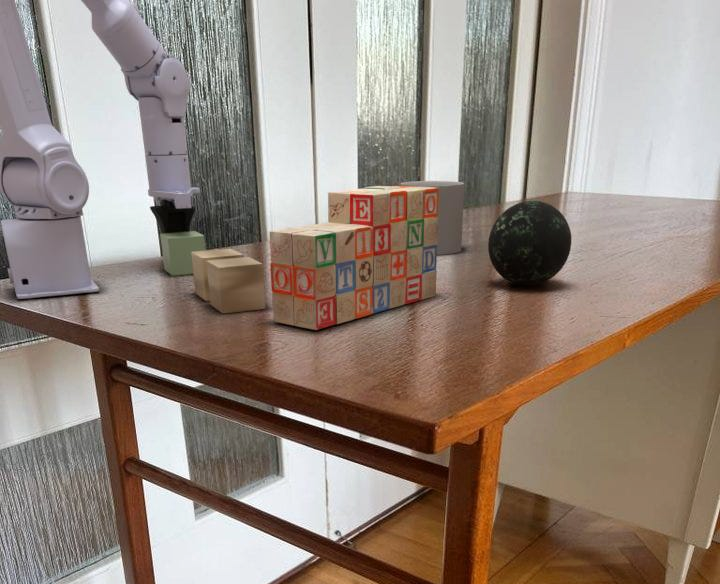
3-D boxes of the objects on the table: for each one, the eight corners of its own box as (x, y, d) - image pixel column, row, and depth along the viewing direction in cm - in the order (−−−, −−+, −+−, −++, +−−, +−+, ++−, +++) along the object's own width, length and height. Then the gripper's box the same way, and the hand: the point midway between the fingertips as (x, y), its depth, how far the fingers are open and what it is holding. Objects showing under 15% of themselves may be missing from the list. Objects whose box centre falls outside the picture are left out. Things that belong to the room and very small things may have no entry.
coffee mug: (442, 257, 115) (445, 186, 110) (387, 251, 120) (387, 184, 115) (481, 245, 125) (484, 180, 120) (428, 241, 130) (430, 178, 125)
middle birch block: (206, 301, 89) (201, 257, 86) (195, 293, 93) (191, 251, 90) (246, 297, 90) (243, 254, 88) (234, 289, 95) (231, 248, 92)
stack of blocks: (317, 332, 75) (312, 201, 70) (272, 323, 79) (264, 198, 73) (436, 295, 90) (440, 185, 85) (394, 289, 94) (395, 183, 88)
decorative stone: (518, 296, 89) (525, 207, 85) (470, 282, 97) (474, 199, 93) (583, 288, 93) (594, 202, 89) (532, 274, 101) (539, 195, 97)
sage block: (172, 276, 103) (167, 238, 101) (164, 270, 107) (160, 233, 105) (208, 272, 105) (204, 235, 103) (199, 266, 109) (195, 231, 107)
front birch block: (222, 313, 83) (218, 267, 81) (210, 304, 87) (206, 260, 85) (265, 309, 85) (262, 263, 83) (251, 300, 89) (248, 256, 87)
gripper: (209, 155, 99) (218, 262, 105) (182, 152, 110) (192, 247, 116) (154, 157, 96) (168, 266, 102) (134, 153, 108) (146, 251, 114)
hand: (178, 257), depth 109 cm, fingers closed
